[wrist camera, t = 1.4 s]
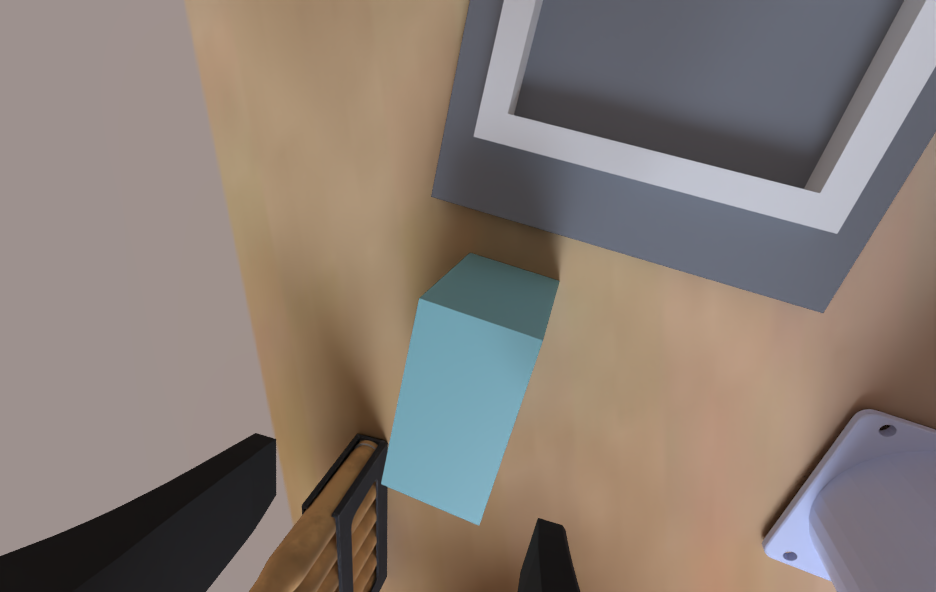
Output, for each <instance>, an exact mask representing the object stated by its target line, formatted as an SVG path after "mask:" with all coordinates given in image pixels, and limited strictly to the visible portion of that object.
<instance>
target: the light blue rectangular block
mask: <svg viewBox="0 0 936 592" xmlns="http://www.w3.org/2000/svg"><path fill="white" fill-rule="evenodd" d="M558 285H559V281H558V280H555V279H552V278H549V277H546V276H542V275H539V274H536V273H533V272H530V271H527V270H523V269H520V268H517V267H514V266H511V265H508V264H504V263H501V262H498V261H495V260H492V259H489V258H485V257H482V256H479V255H476V254H473V253H469V254H468V255H467V256H466V257H465V258H464V259H462V260H461V261H460V262H459V263H458V264H457V265H456V266H455V267H453V268H452V269H451V270H450V271H449V272H448V273H447V274H446V275H445V276H443V277H442V278H441V279H440V280H439V281H438V282H437V283H436V284H435V285H433V286H432V287H431V288H430V289H429V290H428V291H427V292H426V293H425V294H423V295H422V296H421V297H420V298H419V302H418V307H417V312H416V317H415V321H414V326H413V331H412V336H411V341H410V346H409V351H408V355H407V360H406V365H405V370H404V375H403V380H402V384H401V389H400V394H399V399H398V404H397V409H396V414H395V418H394V423H393V428H392V433H391V438H390V443H389V448H388V452H387V457H386V462H385V467H384V472H383V477H382V482H381V484H382V485H384V486H387V487H389V488H392V489H394V490H396V491H399V492H401V493H403V494H406V495H408V496H410V497H413V498H415V499H417V500H420V501H422V502H425V503H427V504H429V505H432V506H434V507H436V508H439V509H441V510H443V511H446V512H448V513H450V514H453V515H455V516H458V517H460V518H462V519H465V520H467V521H469V522H472V523H474V524H476V525H480V522H481V519H482V516H483V513H484V510H485V507H486V504H487V501H488V498H489V496H490V493H491V490H492V487H493V484H494V481H495V478H496V475H497V472H498V469H499V466H500V464H501V461H502V458H503V455H504V452H505V449H506V446H507V443H508V440H509V437H510V435H511V432H512V429H513V426H514V423H515V420H516V417H517V414H518V411H519V408H520V406H521V403H522V400H523V397H524V394H525V391H526V388H527V385H528V382H529V379H530V376H531V374H532V371H533V368H534V365H535V362H536V359H537V356H538V353H539V350H540V347H541V345H542V342H543V338H544V335H545V331H546V328H547V324H548V320H549V317H550V313H551V310H552V306H553V303H554V299H555V295H556V292H557V288H558Z"/></svg>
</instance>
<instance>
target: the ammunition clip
mask: <svg viewBox="0 0 936 592" xmlns="http://www.w3.org/2000/svg"><path fill="white" fill-rule="evenodd" d="M387 452H388V443H387V442H386V441H383V440H379V439H375V438H372V437H368V436H364V435H360V434H357V435H356V436H355V437H354V439H353V440H352V441H351V442H350V444H349V445H348V446H347V448H346V449H345V450H344V451H343V453H342V454H341V455H340V457H339V458H338V459H337V460H336V462H335V463H334V464H333V466H332V467H331V468H330V469H329V471H328V472H327V473H326V475H325V476H324V477H323V478H322V480H321V481H320V482H319V484H318V485H317V486H316V487H315V489H314V490H313V491H312V493H311V494H310V495H309V496H308V498H307V499H306V500H305V502H304V503H303V504H302V516H301V518H300V519H299V520H298V521H297V523H296V524H295V525H294V527H293V528H292V529H291V531H290V532H289V533H288V534H287V536H286V537H285V538H284V540H283V541H282V542H281V544H280V545H279V546H278V547H277V549H276V550H275V551H274V552H273V554H272V555H271V556H270V558H269V559H268V561H267V563H266V564H265V567H264V568H263V570H262V572H261V574H260V576H259V577H258V579H257V581H256V582H255V584H254V585H253V587H252V588H251V589H250V591H249V592H379V591H380V589H381V587H382V585H383V583H384V581H385V579H386V577H387V486H384V485H382V484H381V482H382V477H383V472H384V467H385V462H386V457H387Z"/></svg>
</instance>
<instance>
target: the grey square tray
mask: <svg viewBox="0 0 936 592" xmlns="http://www.w3.org/2000/svg"><path fill="white" fill-rule="evenodd" d="M935 132H936V0H470V3H469V8H468V13H467V18H466V23H465V28H464V33H463V38H462V44H461V49H460V54H459V59H458V64H457V69H456V74H455V79H454V84H453V89H452V94H451V99H450V104H449V109H448V114H447V119H446V124H445V129H444V135H443V140H442V145H441V150H440V155H439V160H438V165H437V170H436V175H435V180H434V185H433V190H432V195H431V197H434V198H437V199H441V200H444V201H447V202H451V203H454V204H457V205H461V206H464V207H468V208H471V209H474V210H478V211H481V212H484V213H488V214H491V215H494V216H498V217H501V218H505V219H508V220H511V221H515V222H518V223H521V224H525V225H528V226H531V227H535V228H538V229H542V230H545V231H548V232H552V233H555V234H558V235H562V236H565V237H568V238H572V239H575V240H579V241H582V242H585V243H589V244H592V245H595V246H599V247H602V248H605V249H609V250H612V251H616V252H619V253H622V254H626V255H629V256H632V257H636V258H639V259H642V260H646V261H649V262H653V263H656V264H659V265H663V266H666V267H669V268H673V269H676V270H679V271H683V272H686V273H690V274H693V275H696V276H700V277H703V278H706V279H710V280H713V281H716V282H720V283H723V284H727V285H730V286H733V287H737V288H740V289H743V290H747V291H750V292H753V293H757V294H760V295H764V296H767V297H770V298H774V299H777V300H780V301H784V302H787V303H790V304H794V305H797V306H801V307H804V308H807V309H811V310H814V311H817V312H821V313H824V311H825V309H826V308H827V306H828V305H829V303H830V301H831V300H832V298H833V296H834V295H835V293H836V292H837V290H838V288H839V287H840V285H841V284H842V282H843V280H844V279H845V277H846V276H847V274H848V272H849V271H850V269H851V267H852V266H853V264H854V263H855V261H856V259H857V258H858V256H859V255H860V253H861V251H862V250H863V248H864V246H865V245H866V243H867V242H868V240H869V238H870V237H871V235H872V234H873V232H874V230H875V229H876V227H877V225H878V224H879V222H880V221H881V219H882V217H883V216H884V214H885V213H886V211H887V209H888V208H889V206H890V205H891V203H892V201H893V200H894V198H895V196H896V195H897V193H898V192H899V190H900V188H901V187H902V185H903V184H904V182H905V180H906V179H907V177H908V175H909V174H910V172H911V171H912V169H913V167H914V166H915V164H916V163H917V161H918V159H919V158H920V156H921V155H922V153H923V151H924V150H925V148H926V146H927V145H928V143H929V142H930V140H931V138H932V137H933V135H934V134H935Z"/></svg>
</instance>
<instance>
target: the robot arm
mask: <svg viewBox="0 0 936 592" xmlns="http://www.w3.org/2000/svg"><path fill="white" fill-rule="evenodd" d="M884 425H890V427H889V428H887V429H886V430H882V431H881V430H879V429H880V428H881V427H882V426H884ZM275 496H276V439H273V438H270V437H267V436H264V435H260V434H257V433H255V434H253V435H251V436H250V437H248V438H246V439H244V440H243V441H241V442H239V443H237V444H235V445H234V446H232V447H230V448H228V449H226V450H225V451H223V452H221V453H220V454H218V455H216V456H214V457H212V458H211V459H209V460H207V461H205V462H204V463H202V464H200V465H198V466H196V467H195V468H193V469H191V470H189V471H188V472H186V473H184V474H182V475H180V476H178V477H176V478H175V479H173V480H171V481H169V482H167V483H165V484H164V485H162V486H160V487H158V488H156V489H154V490H152V491H150V492H148V493H146V494H144V495H142V496H140V497H138V498H136V499H134V500H132V501H130V502H128V503H126V504H124V505H122V506H120V507H118V508H116V509H114V510H112V511H110V512H108V513H105V514H103V515H101V516H99V517H96V518H94V519H92V520H90V521H88V522H85V523H83V524H80V525H78V526H76V527H74V528H71V529H69V530H67V531H64V532H62V533H59V534H57V535H55V536H52V537H50V538H47V539H45V540H42V541H39V542H36V543H34V544H31V545H28V546H26V547H23V548H21V549H18V550H15V551H13V552H10V553H8V554H5V555H2V556H0V592H206V591H207V590H208V588H209V587H210V586H211V585H212V583H213V582H214V581H215V580H216V578H217V577H218V576H219V575H220V573H221V572H222V571H223V569H224V568H225V567H226V566H227V564H228V563H229V562H230V561H231V559H232V558H233V557H234V555H235V554H236V553H237V552H238V550H239V549H240V548H241V547H242V545H243V544H244V543H245V542H246V540H247V539H248V538H249V536H250V535H251V534H252V532H253V531H254V529H255V528H256V526H257V525H258V523H259V522H260V520H261V519H262V517H263V515H264V514H265V512H266V511H267V509H268V507H269V506H270V504H271V502H272V501H273V499H274V497H275ZM762 546H763V549H764V551H765V553H766V554H767V556H769V557H771V558H773V559H776V560H778V561H781V562H783V563H786V564H788V565H791V566H793V567H796V568H799V569H801V570H804V571H806V572H809V573H811V574H814V575H816V576H819V577H821V578H824V579H827V580H829V581H832V583H833V585H834V587H835V589H836V590H837V592H936V430H935V429H932V428H929V427H926V426H923V425H920V424H917V423H914V422H911V421H908V420H905V419H902V418H898V417H895V416H892V415H889V414H886V413H883V412H880V411H877V410H872V409H866V410H861V411H859V412H857V413H856V414H855V415H854V416H853V417H852V418H851V420H850V421H849V423H848V424H847V425H846V427H845V428H844V429H843V431H842V432H841V434H840V435H839V436H838V438H837V439H836V440H835V442H834V443H833V445H832V446H831V447H830V449H829V450H828V451H827V453H826V454H825V456H824V457H823V458H822V460H821V461H820V462H819V464H818V465H817V467H816V468H815V469H814V471H813V472H812V474H811V475H810V476H809V478H808V479H807V480H806V482H805V483H804V485H803V486H802V487H801V489H800V490H799V491H798V493H797V494H796V496H795V497H794V498H793V500H792V501H791V502H790V504H789V505H788V507H787V508H786V509H785V511H784V512H783V513H782V515H781V516H780V518H779V519H778V520H777V522H776V523H775V524H774V526H773V527H772V529H771V530H770V531H769V533H768V534H767V535H766V537H765V538H764V540H763V542H762ZM788 551H791V553H785V552H788ZM518 592H580V589H579V586H578V582H577V578H576V575H575V571H574V567H573V563H572V559H571V555H570V551H569V546H568V541H567V536H566V530H565V529H564V527H563V526H562V525H560V524H556V523H553V522H550V521H546V520H543V519H540V518H538V520H537V523H536V526H535V529H534V532H533V535H532V538H531V542H530V545H529V548H528V551H527V554H526V557H525V560H524V563H523V566H522V569H521V573H520V580H519V587H518Z"/></svg>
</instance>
